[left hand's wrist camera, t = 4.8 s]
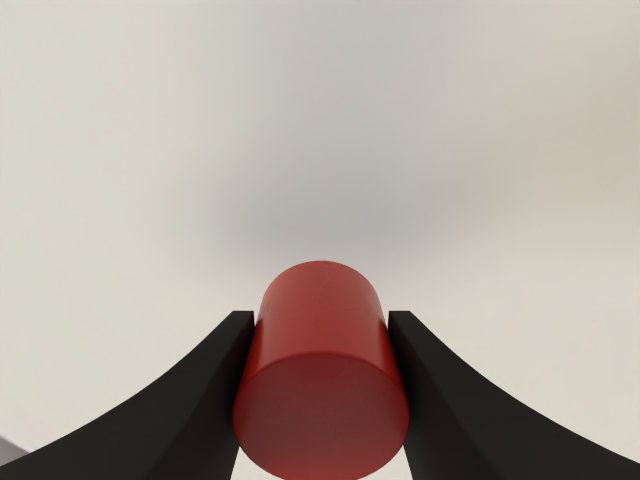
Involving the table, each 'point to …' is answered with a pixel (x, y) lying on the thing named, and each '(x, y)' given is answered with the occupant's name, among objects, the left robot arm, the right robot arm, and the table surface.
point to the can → (320, 379)
